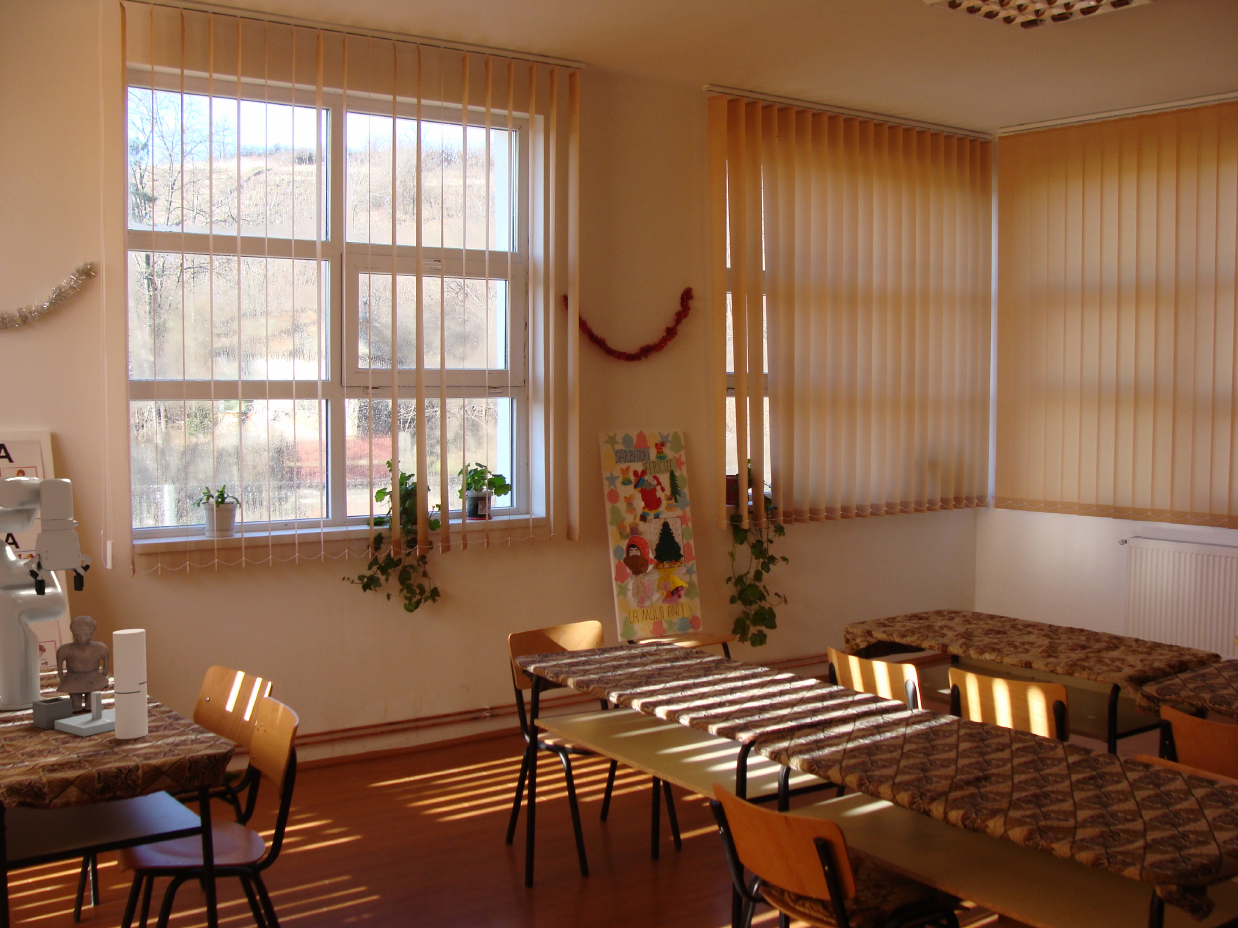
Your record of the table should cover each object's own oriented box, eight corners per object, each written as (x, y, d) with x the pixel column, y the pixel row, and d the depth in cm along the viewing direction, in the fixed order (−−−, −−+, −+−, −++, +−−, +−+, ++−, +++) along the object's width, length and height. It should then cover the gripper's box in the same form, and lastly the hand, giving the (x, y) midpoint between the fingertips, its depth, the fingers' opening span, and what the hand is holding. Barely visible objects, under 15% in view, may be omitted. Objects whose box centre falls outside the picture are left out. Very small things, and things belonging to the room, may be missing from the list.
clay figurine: (55, 716, 279) (53, 620, 279) (57, 708, 288) (54, 615, 288) (110, 709, 284) (108, 616, 284) (110, 702, 293) (108, 611, 293)
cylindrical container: (154, 732, 259) (151, 629, 259) (132, 739, 253) (129, 634, 252) (131, 730, 262) (128, 628, 262) (108, 737, 255) (105, 633, 255)
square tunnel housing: (33, 725, 269) (32, 701, 269) (59, 719, 274) (58, 696, 274) (46, 728, 265) (45, 704, 265) (72, 723, 270) (72, 699, 270)
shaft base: (54, 728, 265) (53, 694, 265) (109, 716, 276) (108, 684, 276) (83, 736, 257) (82, 701, 257) (139, 723, 268) (138, 689, 268)
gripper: (82, 524, 285) (85, 588, 285) (15, 528, 271) (18, 596, 270) (97, 524, 280) (100, 589, 280) (30, 528, 266) (32, 597, 266)
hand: (60, 592), depth 275 cm, fingers open, 9 cm apart
